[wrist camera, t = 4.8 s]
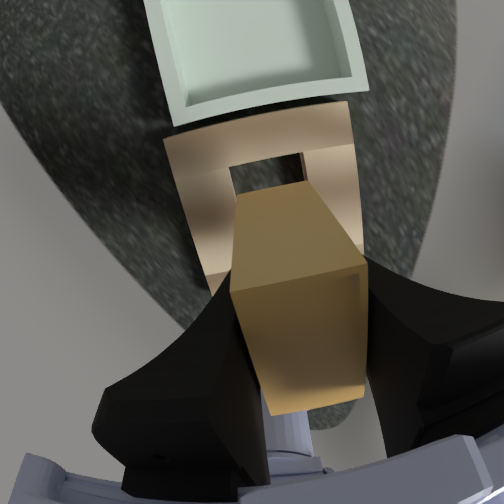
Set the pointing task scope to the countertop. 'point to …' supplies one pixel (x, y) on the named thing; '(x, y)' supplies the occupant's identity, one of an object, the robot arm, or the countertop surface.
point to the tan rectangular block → (299, 298)
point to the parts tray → (252, 53)
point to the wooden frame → (258, 148)
